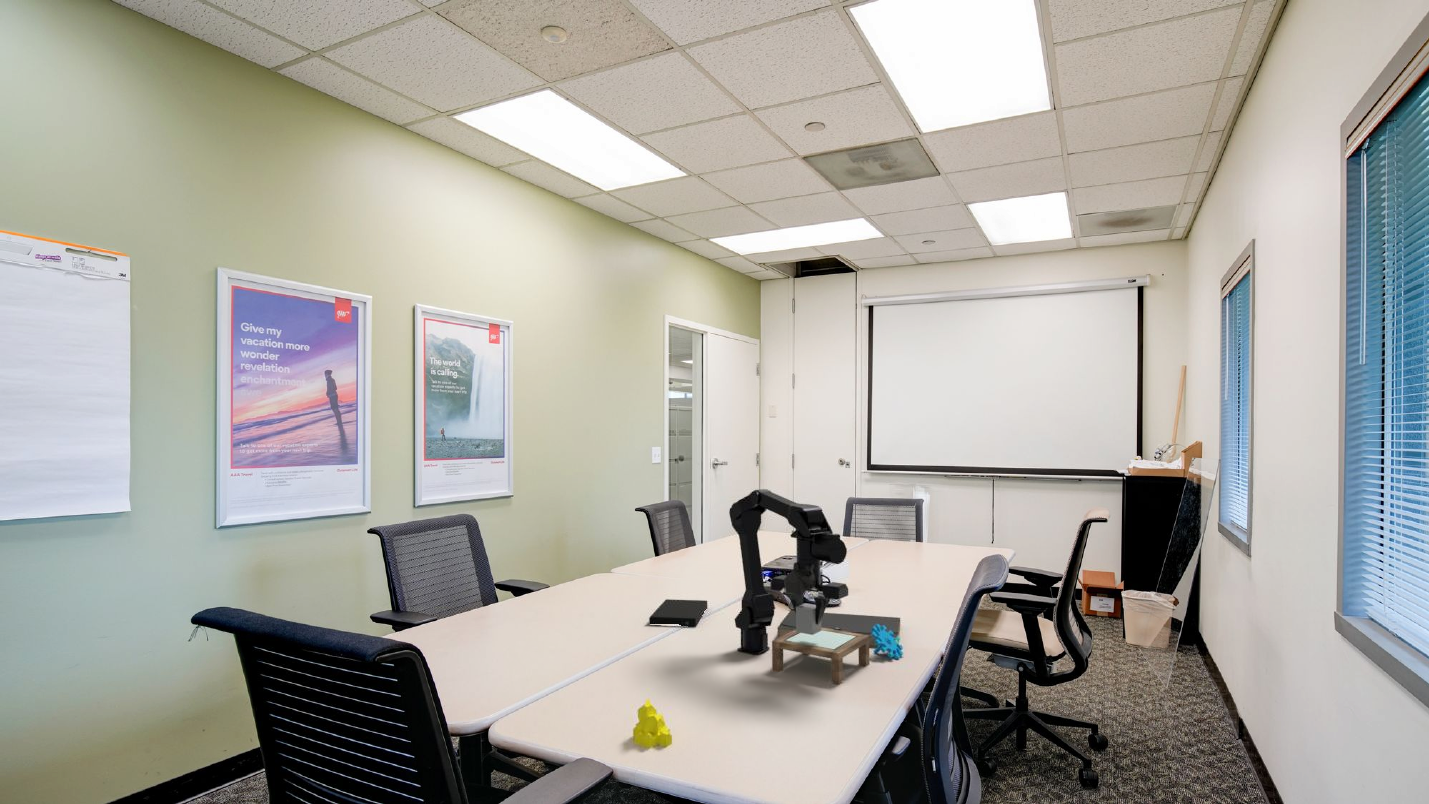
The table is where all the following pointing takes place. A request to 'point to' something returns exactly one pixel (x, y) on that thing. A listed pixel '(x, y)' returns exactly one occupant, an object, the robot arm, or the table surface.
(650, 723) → the yellow lumpy pyramid
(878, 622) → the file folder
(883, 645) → the gear
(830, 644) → the trapdoor
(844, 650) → the frame
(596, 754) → the table surface
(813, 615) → the stone block
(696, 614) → the external hard drive
